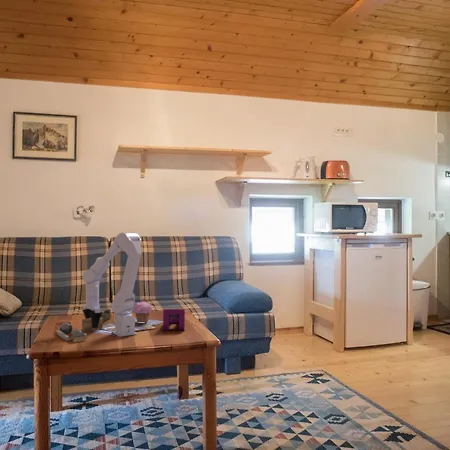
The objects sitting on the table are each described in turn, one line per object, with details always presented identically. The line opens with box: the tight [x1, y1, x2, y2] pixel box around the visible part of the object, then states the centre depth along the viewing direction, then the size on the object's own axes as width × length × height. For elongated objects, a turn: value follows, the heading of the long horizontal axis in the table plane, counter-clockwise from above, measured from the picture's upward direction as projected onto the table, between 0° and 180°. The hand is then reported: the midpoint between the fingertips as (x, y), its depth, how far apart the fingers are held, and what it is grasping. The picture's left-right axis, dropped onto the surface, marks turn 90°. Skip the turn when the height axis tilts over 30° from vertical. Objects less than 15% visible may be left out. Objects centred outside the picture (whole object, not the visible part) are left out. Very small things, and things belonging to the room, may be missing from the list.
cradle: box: [56, 327, 88, 342], centre depth 194 cm, size 14×8×2 cm, turn 35°
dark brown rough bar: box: [101, 308, 112, 323], centre depth 225 cm, size 19×4×5 cm, turn 175°
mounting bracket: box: [162, 308, 186, 332], centre depth 211 cm, size 9×8×18 cm
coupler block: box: [81, 318, 104, 333], centre depth 205 cm, size 4×8×5 cm, turn 125°
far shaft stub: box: [57, 321, 74, 335], centre depth 201 cm, size 6×5×4 cm
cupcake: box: [132, 301, 153, 323], centre depth 220 cm, size 9×9×10 cm
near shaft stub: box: [70, 328, 87, 344], centre depth 187 cm, size 6×5×4 cm
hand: (92, 326), depth 205 cm, fingers open, 7 cm apart
